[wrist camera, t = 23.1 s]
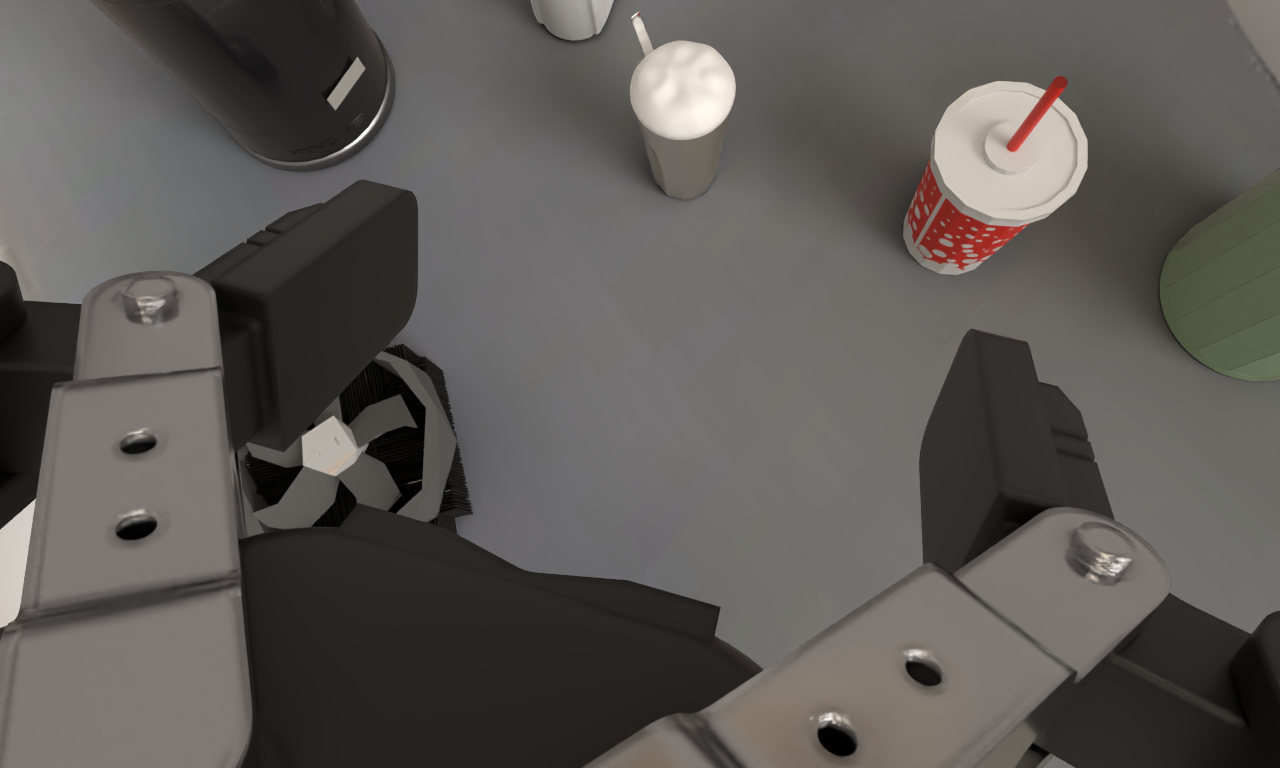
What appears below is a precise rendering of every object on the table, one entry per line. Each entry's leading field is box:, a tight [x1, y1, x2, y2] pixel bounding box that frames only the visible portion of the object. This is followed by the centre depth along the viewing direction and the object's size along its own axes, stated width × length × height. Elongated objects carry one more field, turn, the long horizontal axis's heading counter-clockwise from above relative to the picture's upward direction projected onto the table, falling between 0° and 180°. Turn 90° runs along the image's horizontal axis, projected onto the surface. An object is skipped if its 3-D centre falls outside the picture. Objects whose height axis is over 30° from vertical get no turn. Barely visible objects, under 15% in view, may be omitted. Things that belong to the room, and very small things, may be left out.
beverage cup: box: [903, 76, 1087, 275], centre depth 38 cm, size 6×6×14 cm
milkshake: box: [630, 12, 736, 200], centre depth 41 cm, size 4×5×10 cm
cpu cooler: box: [238, 344, 473, 537], centre depth 41 cm, size 10×6×10 cm
